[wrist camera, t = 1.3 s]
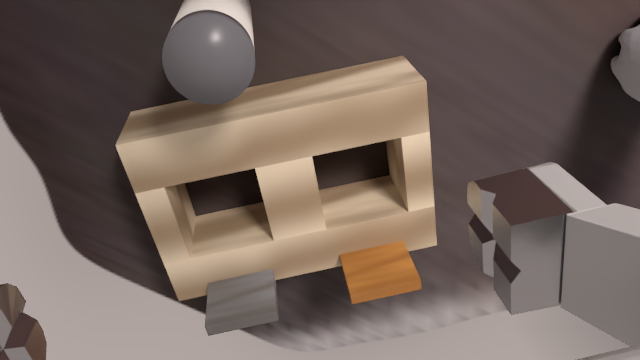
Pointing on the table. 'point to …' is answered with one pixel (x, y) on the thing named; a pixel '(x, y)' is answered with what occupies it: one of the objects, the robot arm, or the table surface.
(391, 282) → the socket block
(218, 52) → the white grey cylinder
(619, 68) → the bottle
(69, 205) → the table surface
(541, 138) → the table surface
